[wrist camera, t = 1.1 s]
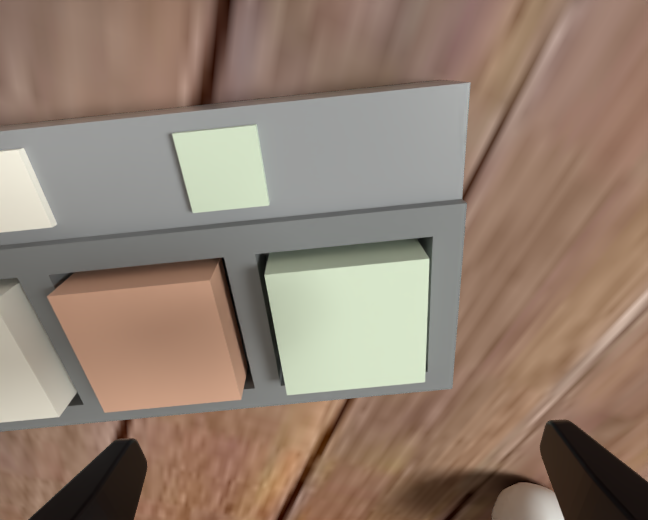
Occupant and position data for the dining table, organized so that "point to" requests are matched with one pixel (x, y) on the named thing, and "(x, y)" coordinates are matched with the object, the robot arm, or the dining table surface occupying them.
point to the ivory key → (28, 362)
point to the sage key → (350, 315)
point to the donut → (526, 503)
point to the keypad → (239, 210)
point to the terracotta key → (154, 334)
